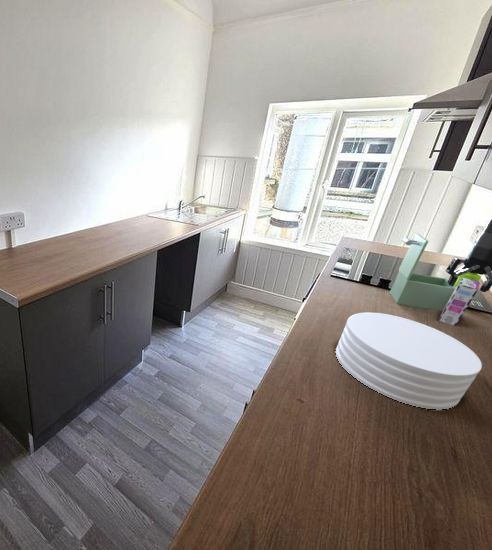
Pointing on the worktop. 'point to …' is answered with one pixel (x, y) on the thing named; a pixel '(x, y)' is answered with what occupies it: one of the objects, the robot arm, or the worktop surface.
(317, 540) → the worktop surface
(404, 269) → the lid
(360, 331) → the plate stack
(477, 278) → the soap dispenser
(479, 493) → the worktop surface
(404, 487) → the worktop surface
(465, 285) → the candy bar box
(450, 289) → the chest
